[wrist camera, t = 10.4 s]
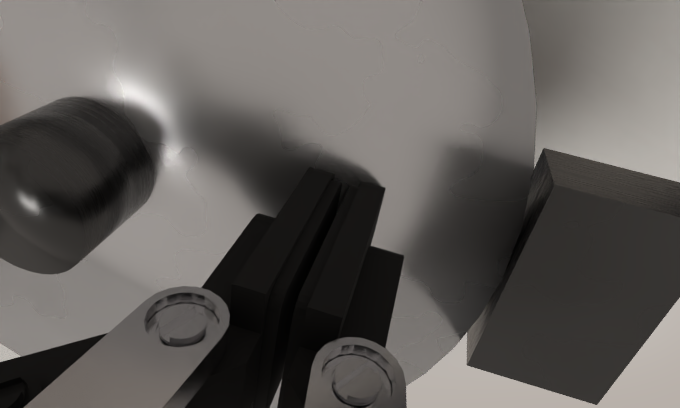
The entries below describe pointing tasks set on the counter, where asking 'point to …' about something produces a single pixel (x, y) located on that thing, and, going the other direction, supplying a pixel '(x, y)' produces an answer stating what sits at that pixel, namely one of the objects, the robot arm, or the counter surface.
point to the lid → (325, 154)
